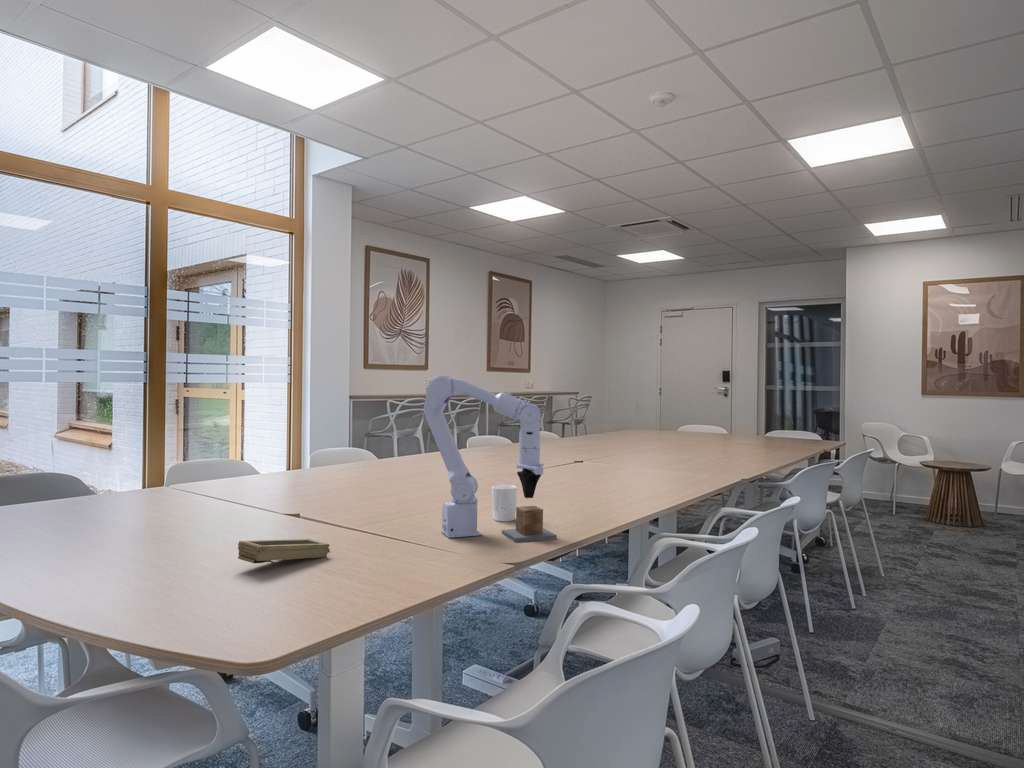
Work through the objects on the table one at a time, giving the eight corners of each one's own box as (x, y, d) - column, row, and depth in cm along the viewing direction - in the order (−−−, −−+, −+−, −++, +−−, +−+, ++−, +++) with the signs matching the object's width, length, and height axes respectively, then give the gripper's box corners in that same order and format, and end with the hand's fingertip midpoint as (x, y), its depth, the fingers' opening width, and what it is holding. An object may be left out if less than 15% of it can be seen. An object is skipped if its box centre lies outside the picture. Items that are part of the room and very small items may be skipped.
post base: (515, 542, 162) (515, 523, 162) (501, 533, 171) (502, 515, 171) (556, 538, 166) (556, 520, 166) (541, 530, 176) (541, 512, 176)
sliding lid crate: (523, 535, 165) (523, 510, 165) (515, 530, 170) (516, 506, 170) (542, 533, 167) (543, 509, 167) (534, 529, 172) (534, 505, 172)
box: (233, 563, 134) (237, 540, 135) (315, 558, 153) (318, 537, 154) (256, 571, 130) (260, 546, 131) (338, 564, 148) (341, 543, 149)
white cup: (487, 521, 187) (488, 487, 187) (495, 515, 194) (496, 484, 194) (512, 523, 185) (513, 489, 185) (519, 517, 192) (520, 485, 192)
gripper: (553, 450, 164) (553, 501, 164) (532, 445, 178) (532, 492, 177) (529, 450, 161) (528, 502, 161) (509, 445, 175) (509, 493, 175)
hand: (528, 497), depth 169 cm, fingers closed
